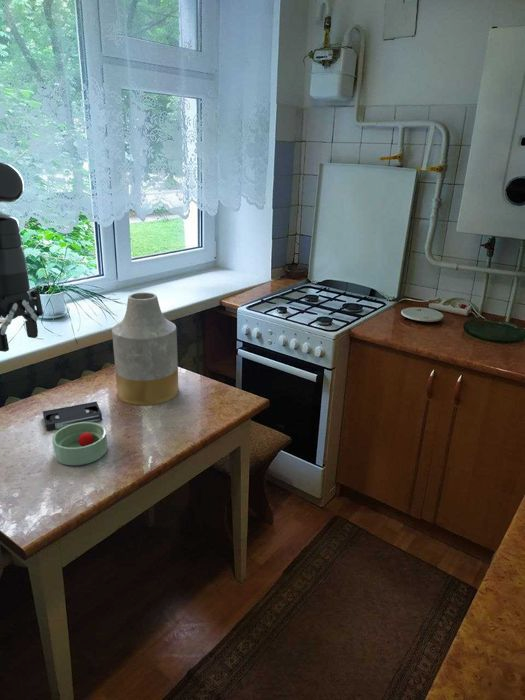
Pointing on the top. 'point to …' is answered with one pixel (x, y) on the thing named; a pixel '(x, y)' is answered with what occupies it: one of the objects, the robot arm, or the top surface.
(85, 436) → the strawberry
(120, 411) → the top surface
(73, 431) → the bowl
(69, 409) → the vhs tape
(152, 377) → the vase
